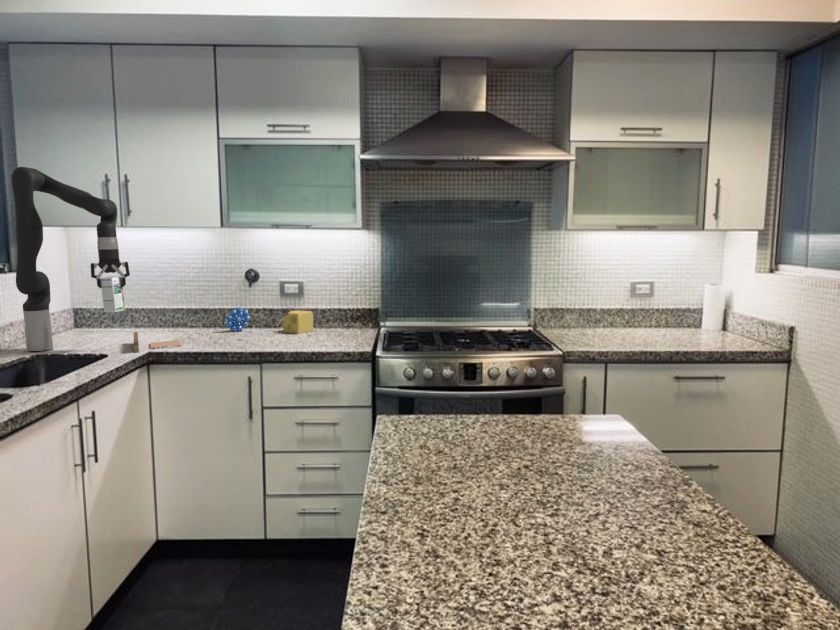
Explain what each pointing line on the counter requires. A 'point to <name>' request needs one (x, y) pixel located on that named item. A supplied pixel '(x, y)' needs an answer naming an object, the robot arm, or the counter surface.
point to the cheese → (298, 322)
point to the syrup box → (112, 294)
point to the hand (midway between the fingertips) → (111, 287)
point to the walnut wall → (136, 342)
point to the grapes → (238, 319)
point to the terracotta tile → (165, 344)
